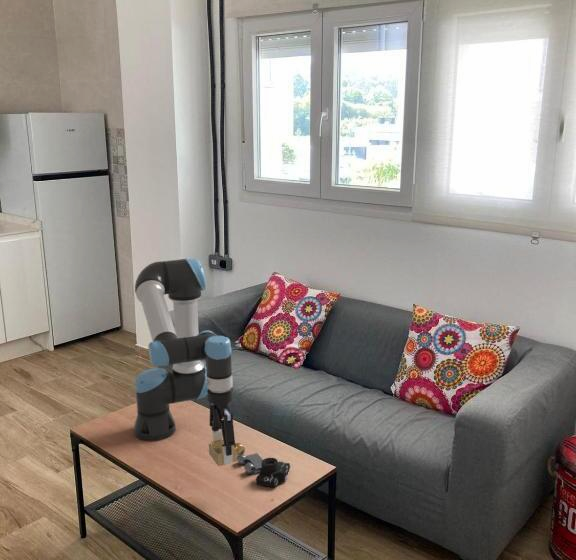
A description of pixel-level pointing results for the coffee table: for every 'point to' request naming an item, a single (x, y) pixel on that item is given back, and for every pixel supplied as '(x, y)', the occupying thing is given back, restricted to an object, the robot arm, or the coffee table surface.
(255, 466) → the steel hinge leaf
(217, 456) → the gold knuckled block
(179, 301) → the robot arm
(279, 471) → the film camera
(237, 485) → the coffee table surface
